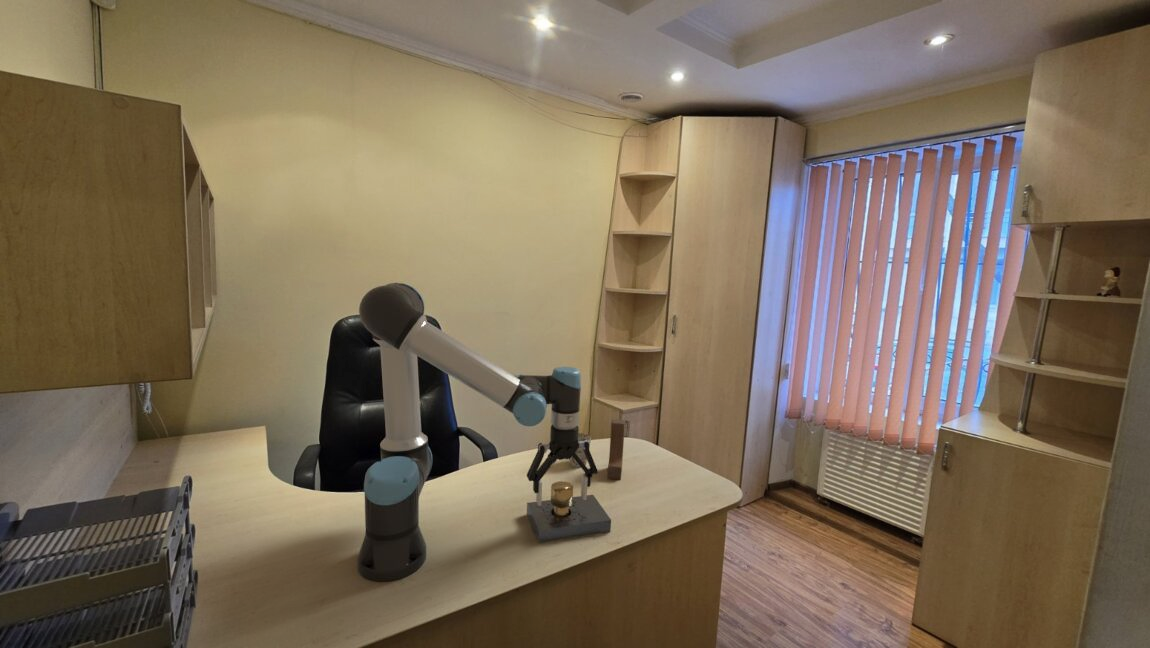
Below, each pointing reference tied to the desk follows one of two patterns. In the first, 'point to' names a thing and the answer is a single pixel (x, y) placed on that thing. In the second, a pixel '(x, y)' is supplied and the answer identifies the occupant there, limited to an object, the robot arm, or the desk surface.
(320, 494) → the desk surface
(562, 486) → the knob
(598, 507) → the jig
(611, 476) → the wooden block
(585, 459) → the mug
